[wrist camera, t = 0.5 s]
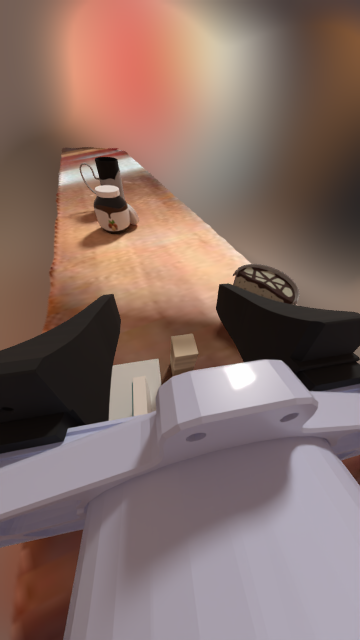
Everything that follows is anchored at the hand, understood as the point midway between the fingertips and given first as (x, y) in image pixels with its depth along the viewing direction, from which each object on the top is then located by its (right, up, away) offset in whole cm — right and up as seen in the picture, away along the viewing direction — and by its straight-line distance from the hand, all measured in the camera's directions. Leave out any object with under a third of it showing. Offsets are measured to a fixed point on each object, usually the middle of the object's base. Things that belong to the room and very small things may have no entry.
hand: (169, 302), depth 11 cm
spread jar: (-20, +32, +48) cm, 61 cm away
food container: (+17, +1, +27) cm, 32 cm away
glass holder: (-29, +46, +58) cm, 79 cm away
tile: (-4, -16, +12) cm, 20 cm away
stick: (+1, -10, +17) cm, 20 cm away
